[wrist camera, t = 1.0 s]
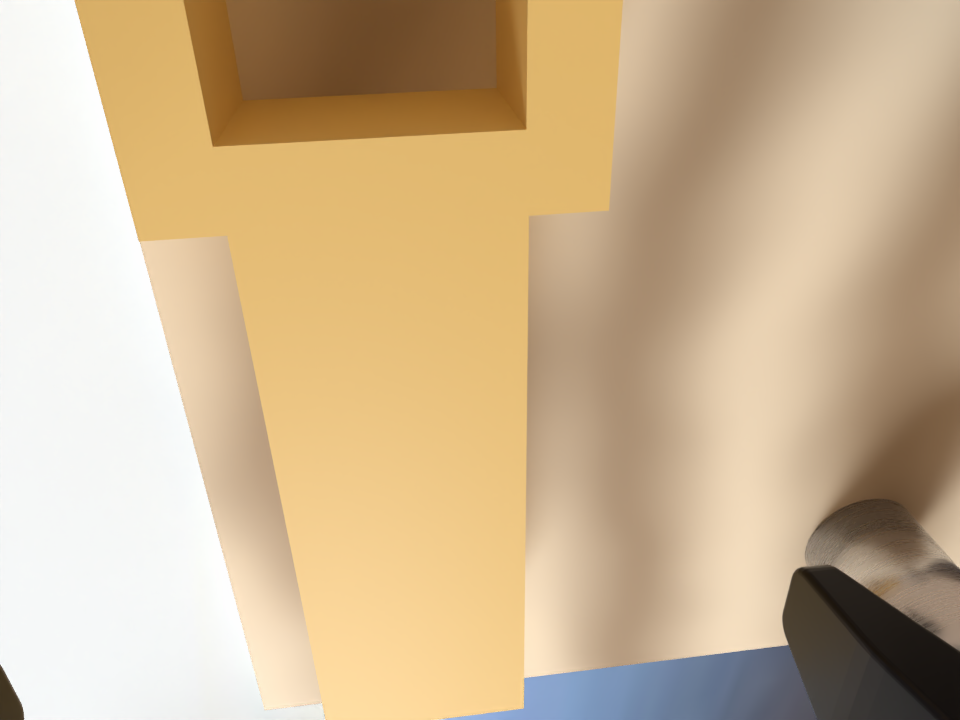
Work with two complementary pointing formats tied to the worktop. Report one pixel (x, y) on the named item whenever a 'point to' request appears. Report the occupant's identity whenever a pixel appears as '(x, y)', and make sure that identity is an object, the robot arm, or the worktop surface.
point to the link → (379, 315)
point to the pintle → (892, 562)
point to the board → (654, 316)
